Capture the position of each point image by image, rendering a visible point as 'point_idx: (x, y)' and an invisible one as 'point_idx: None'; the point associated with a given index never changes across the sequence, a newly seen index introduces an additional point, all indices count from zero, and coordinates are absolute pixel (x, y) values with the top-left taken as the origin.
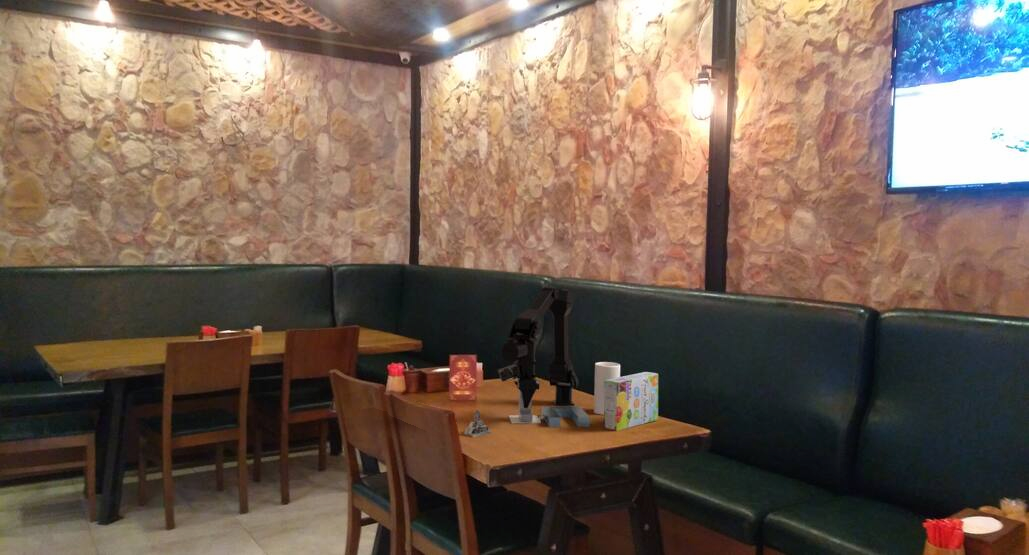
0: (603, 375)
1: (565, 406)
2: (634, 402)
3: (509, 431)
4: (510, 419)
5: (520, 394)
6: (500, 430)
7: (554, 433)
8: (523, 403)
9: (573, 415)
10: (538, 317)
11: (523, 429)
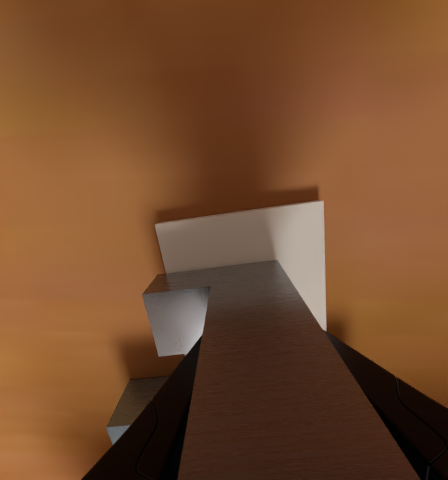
0: None
1: None
2: None
3: (9, 213)
4: (228, 214)
5: (189, 417)
6: (13, 163)
7: (42, 394)
8: (188, 354)
9: None
10: None
11: (70, 280)
